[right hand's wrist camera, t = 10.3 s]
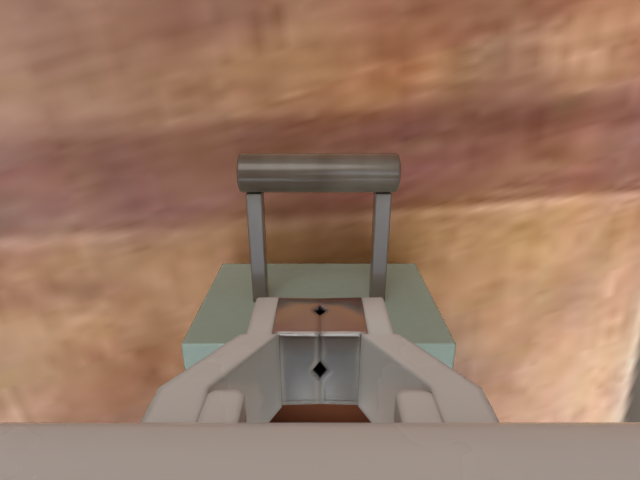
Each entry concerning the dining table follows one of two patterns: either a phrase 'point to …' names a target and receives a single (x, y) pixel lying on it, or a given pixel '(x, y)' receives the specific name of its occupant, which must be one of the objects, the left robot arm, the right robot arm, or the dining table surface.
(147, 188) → the dining table surface
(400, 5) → the dining table surface
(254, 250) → the drawer
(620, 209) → the dining table surface
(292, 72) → the dining table surface
